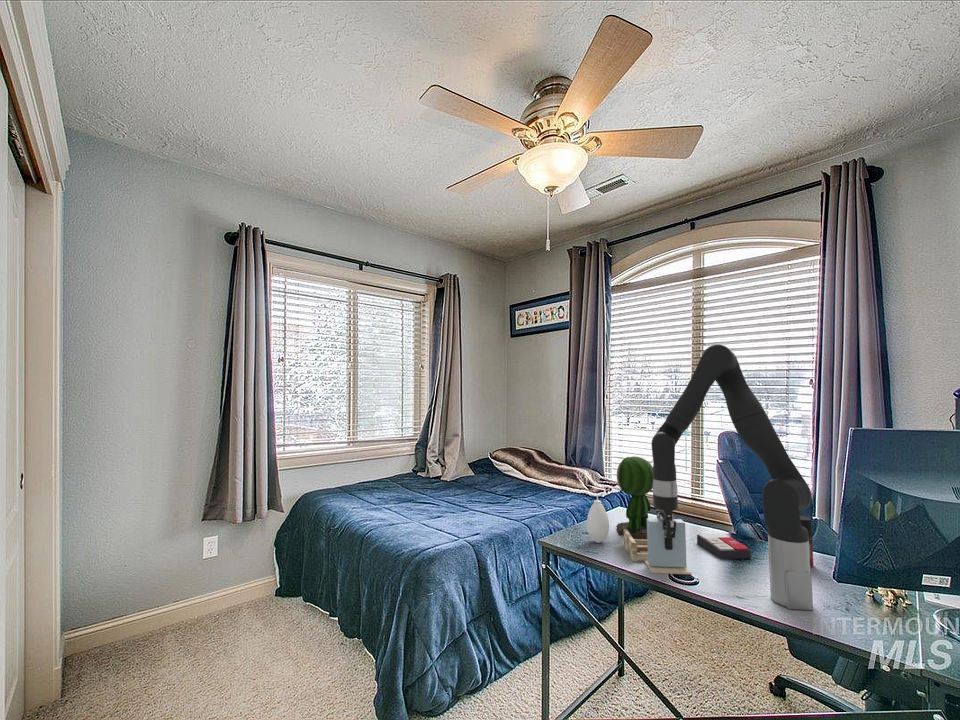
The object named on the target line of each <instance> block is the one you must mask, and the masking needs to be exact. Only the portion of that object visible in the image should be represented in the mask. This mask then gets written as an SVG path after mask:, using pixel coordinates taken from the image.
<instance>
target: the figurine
mask: <svg viewBox="0 0 960 720" xmlns="http://www.w3.org/2000/svg"><path fill="white" fill-rule="evenodd" d="M616 481H617V484H618V486H619V487H620V490H621V491H622V492H623V493H625V494H628V495H629V496H631V497H630V498H629V501H628V504H627V506H626V511H625V516H626V519H628V521H626V522H618V523H617V525H616V526H615V528H616V527H617V529H616V533H618V534H619V535H618V534H617V535H618V536H621V535H623V536H622V537H624V529H627V530H628V532H629V533H630V535H631V536H632V538H634V539H647V518H648V519H649V512H650V511H651V503H650V500H649V499H648V496H646V495H648V493H650V492H651V491H653V464H651V463H650V462H649V461H648V460H646V459H645V458H643V457H639V456H627V457H625V458H623V459H622V460H621V462H619V464H618V466H617V469H616Z"/></svg>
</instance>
